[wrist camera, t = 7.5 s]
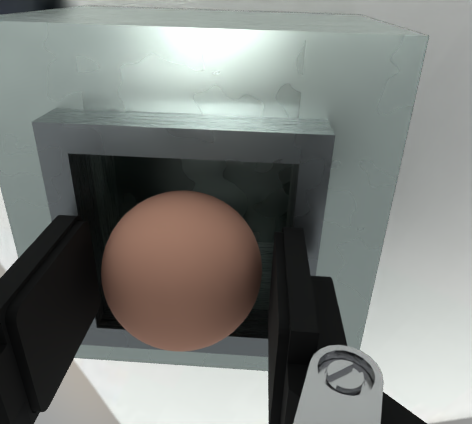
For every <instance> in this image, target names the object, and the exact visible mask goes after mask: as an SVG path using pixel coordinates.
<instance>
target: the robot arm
mask: <svg viewBox="0 0 472 424" xmlns="http://www.w3.org/2000/svg"><path fill="white" fill-rule="evenodd" d="M99 307H100V293H99V286H98V280H97V273H96V267H95V260H94V254H93V248H92V241H91V235H90V228H89V224H88V222H86V221H83V220H82V218H81V217H80V216H72V215H58V216H57V217H56V218H55V219H54V220H53V221H52V222H51V223H50V224H49V225H48V226H47V227H46V229H45V230H44V231H43V232H42V233H41V234H40V235H39V236H38V237H37V238H36V240H35V241H34V242H33V243H32V244H31V245H30V246H29V247H28V248H27V249H26V251H25V252H24V253H23V254H22V255H21V256H20V257H19V258H18V259H17V260H16V262H15V263H14V264H13V265H12V266H11V267H10V268H9V269H8V270H7V271H6V273H5V274H4V275H3V276H2V277H1V278H0V424H34V422H35V420H36V418H37V416H38V414H39V413H40V412H44V411H46V410H47V409H48V407H49V405H50V403H51V401H52V400H53V398H54V396H55V394H56V392H57V390H58V388H59V386H60V384H61V382H62V380H63V378H64V376H65V374H66V372H67V370H68V369H69V366H70V365H71V363H72V361H73V359H74V357H75V355H76V353H77V351H78V349H79V347H80V345H81V343H82V341H83V339H84V338H85V336H86V334H87V332H88V330H89V328H90V326H91V324H92V322H93V320H94V318H95V316H96V314H97V312H98V310H99ZM383 383H384V382H383V375H382V372H381V370H380V368H379V366H378V364H377V363H376V362H375V361H374V360H373V359H372V358H371V357H370V356H368V355H367V354H365V353H364V352H362V351H361V350H358V349H355V348H353V347H350V346H347V341H346V337H345V332H344V328H343V323H342V319H341V315H340V310H339V306H338V301H337V297H336V293H335V288H334V284H333V280H332V278H331V277H326V276H311V275H310V268H309V262H308V255H307V249H306V242H305V236H304V230H303V228H296V227H283V229H282V232H275V235H274V247H273V259H272V272H271V284H270V297H269V310H268V392H269V424H427V423H425V422H424V421H423V420H421V419H420V418H418V417H417V416H416V415H414V414H413V413H412V412H410V411H409V410H407V409H406V408H405V407H403V406H402V405H400V404H399V403H398V402H396V401H395V400H394V399H392V398H391V397H389V396H388V395H387V394H385V393H384V392H383Z"/></svg>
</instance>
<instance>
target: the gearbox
mask: <svg viewBox="0 0 472 424" xmlns="http://www.w3.org/2000/svg"><path fill="white" fill-rule="evenodd" d="M428 38H429V36H428V35H425V34H422V33H419V32H415V31H412V30H409V29H405V28H402V27H399V26H396V25H392V24H389V23H386V22H382V21H379V20H376V19H373V18H369V17H366V16H363V15H355V14H324V13H293V12H262V11H232V10H201V9H170V8H139V7H108V6H78V7H69V8H60V9H50V10H41V11H32V12H23V13H14V14H4V15H0V187H1V191H2V195H3V199H4V203H5V207H6V211H7V215H8V219H9V223H10V226H11V230H12V234H13V238H14V242H15V246H16V250H17V254H18V258H19V257H20V256H21V255H22V254H23V253H24V252H25V251H26V249H27V248H28V247H29V246H30V245H31V244H32V243H33V242H34V241H35V240H36V238H37V237H38V236H39V235H40V234H41V233H42V232H43V231H44V230H45V229H46V227H47V226H48V225H49V224H50V223H51V222H52V221H53V220H54V219H55V218H56V217H57V216H58V215H72V216H80V217H81V218H82V220H83V221H86V222H88V224H89V228H90V235H91V241H92V248H93V254H94V260H95V267H96V273H97V280H98V286H99V293H100V307H99V310H98V312H97V314H96V316H95V318H94V320H93V322H92V324H91V326H90V328H89V330H88V332H87V334H86V336H85V338H84V339H83V341H82V343H81V345H80V347H79V349H78V351H77V353H76V355H75V357H74V358H84V359H99V360H114V361H128V362H143V363H158V364H173V365H187V366H202V367H217V368H232V369H247V370H261V371H268V310H269V297H270V284H271V272H272V259H273V247H274V235H275V232H282V229H283V227H296V228H303V230H304V236H305V242H306V249H307V255H308V262H309V268H310V275H311V276H326V277H331V278H332V280H333V284H334V288H335V293H336V297H337V301H338V306H339V310H340V315H341V319H342V323H343V328H344V332H345V337H346V341H347V346H350V347H353V348H355V349H358V350H360V346H361V341H362V337H363V332H364V328H365V323H366V318H367V314H368V309H369V305H370V300H371V296H372V291H373V287H374V282H375V278H376V273H377V269H378V264H379V260H380V255H381V251H382V246H383V242H384V237H385V233H386V228H387V224H388V219H389V215H390V210H391V206H392V201H393V196H394V192H395V187H396V183H397V178H398V174H399V169H400V165H401V160H402V156H403V151H404V147H405V142H406V138H407V133H408V129H409V124H410V120H411V115H412V111H413V106H414V102H415V97H416V93H417V88H418V84H419V79H420V75H421V70H422V65H423V61H424V56H425V52H426V47H427V43H428ZM183 190H187V191H196V192H200V193H205V194H208V195H211V196H213V197H216V198H218V199H220V200H222V201H223V202H225V203H226V204H228V205H229V206H231V207H232V208H233V209H235V210H236V211H237V212H238V213H239V214H240V215H241V216H242V217H243V219H244V220H245V221H246V223H247V224H248V225H249V227H250V228H251V230H252V232H253V234H254V236H255V238H256V241H257V244H258V247H259V250H260V255H261V261H262V277H261V284H260V290H259V293H258V296H257V299H256V301H255V304H254V306H253V308H252V310H251V311H250V313H249V314H248V316H247V317H246V319H245V320H244V321H243V322H242V324H241V325H240V326H239V327H238V328H237V329H236V330H235V331H234V332H232V333H231V334H230V335H229V336H227V337H226V338H224V339H222V340H221V341H219V342H217V343H215V344H213V345H211V346H208V347H205V348H202V349H198V350H193V351H183V352H180V351H167V350H163V349H159V348H155V347H152V346H150V345H148V344H145V343H143V342H142V341H140V340H138V339H137V338H135V337H134V336H132V335H131V334H130V333H129V332H128V331H126V330H125V328H124V327H123V326H122V325H121V324H120V323H119V322H118V321H117V319H116V318H115V317H114V315H113V313H112V311H111V310H110V308H109V306H108V304H107V301H106V298H105V295H104V291H103V286H102V280H101V265H102V258H103V253H104V250H105V246H106V243H107V241H108V239H109V237H110V235H111V233H112V231H113V229H114V228H115V226H116V225H117V223H118V222H119V221H120V220H121V218H122V217H123V216H124V215H125V214H126V213H127V212H128V211H130V210H131V209H132V208H133V207H135V206H136V205H137V204H139V203H140V202H142V201H144V200H146V199H148V198H150V197H153V196H155V195H158V194H161V193H165V192H170V191H183Z"/></svg>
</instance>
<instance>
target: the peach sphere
mask: <svg viewBox="0 0 472 424" xmlns="http://www.w3.org/2000/svg"><path fill="white" fill-rule="evenodd" d="M261 277H262V261H261V255H260V250H259V247H258V244H257V241H256V238H255V236H254V234H253V232H252V230H251V228H250V227H249V225H248V224H247V223H246V221H245V220H244V219H243V217H242V216H241V215H240V214H239V213H238V212H237V211H236V210H235V209H233V208H232V207H231V206H229V205H228V204H226V203H225V202H223V201H222V200H220V199H218V198H216V197H213V196H211V195H208V194H205V193H200V192H196V191H187V190H183V191H170V192H165V193H161V194H158V195H155V196H153V197H150V198H148V199H146V200H144V201H142V202H140V203H139V204H137V205H136V206H135V207H133V208H132V209H131V210H130V211H128V212H127V213H126V214H125V215H124V216H123V217H122V218H121V220H120V221H119V222H118V223H117V225H116V226H115V228H114V229H113V231H112V233H111V235H110V237H109V239H108V241H107V243H106V246H105V250H104V253H103V258H102V265H101V280H102V286H103V291H104V295H105V298H106V301H107V304H108V306H109V308H110V310H111V311H112V313H113V315H114V317H115V318H116V319H117V321H118V322H119V323H120V324H121V325H122V326H123V327H124V328H125V330H126V331H128V332H129V333H130V334H131V335H132V336H134V337H135V338H137V339H138V340H140V341H142V342H143V343H145V344H148V345H150V346H152V347H155V348H159V349H163V350H167V351H180V352H183V351H193V350H198V349H202V348H205V347H208V346H211V345H213V344H215V343H217V342H219V341H221V340H222V339H224V338H226V337H227V336H229V335H230V334H231V333H232V332H234V331H235V330H236V329H237V328H238V327H239V326H240V325H241V324H242V322H243V321H244V320H245V319H246V317H247V316H248V314H249V313H250V311H251V310H252V308H253V306H254V304H255V301H256V299H257V296H258V293H259V290H260V284H261Z"/></svg>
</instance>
